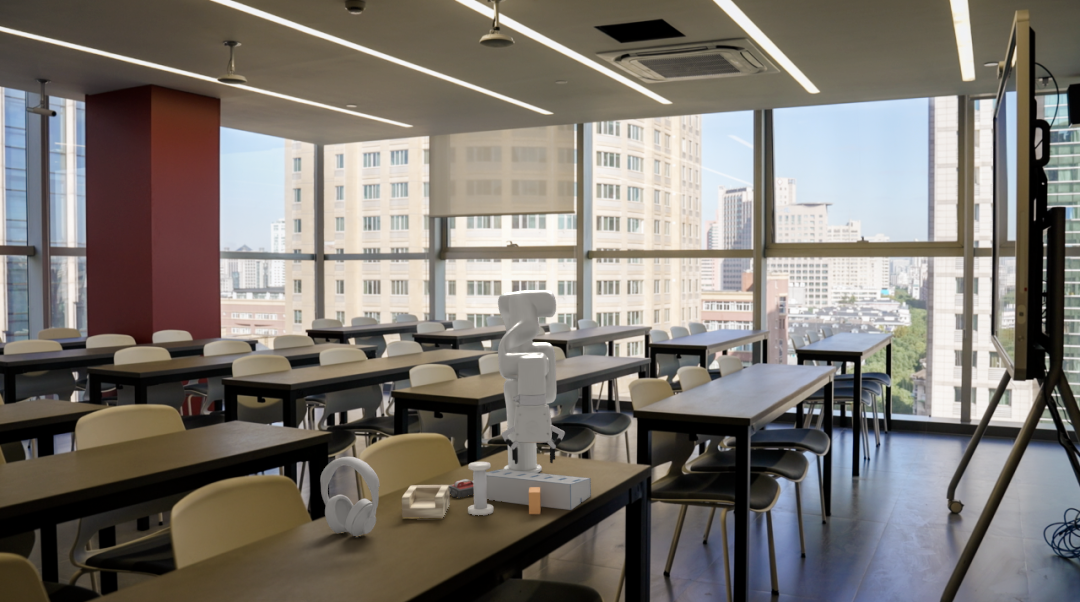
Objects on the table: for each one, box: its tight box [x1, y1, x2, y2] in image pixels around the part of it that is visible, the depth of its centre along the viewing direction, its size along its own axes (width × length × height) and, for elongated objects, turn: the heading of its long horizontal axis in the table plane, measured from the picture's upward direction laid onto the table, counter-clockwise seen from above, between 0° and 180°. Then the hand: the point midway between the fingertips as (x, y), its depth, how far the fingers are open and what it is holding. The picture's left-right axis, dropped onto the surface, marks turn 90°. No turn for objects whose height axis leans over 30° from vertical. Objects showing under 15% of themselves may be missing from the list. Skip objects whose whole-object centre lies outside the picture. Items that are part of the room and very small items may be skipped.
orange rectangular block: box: [528, 487, 542, 515], centre depth 214 cm, size 5×3×6 cm, turn 178°
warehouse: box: [486, 468, 592, 511], centre depth 227 cm, size 30×14×8 cm, turn 64°
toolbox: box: [448, 478, 474, 499], centre depth 233 cm, size 9×4×20 cm
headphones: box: [319, 456, 380, 537], centre depth 197 cm, size 18×8×20 cm, turn 60°
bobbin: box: [467, 461, 494, 517], centre depth 214 cm, size 7×7×13 cm
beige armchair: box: [401, 484, 451, 519], centre depth 215 cm, size 12×11×6 cm
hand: (534, 462), depth 213 cm, fingers open, 9 cm apart
